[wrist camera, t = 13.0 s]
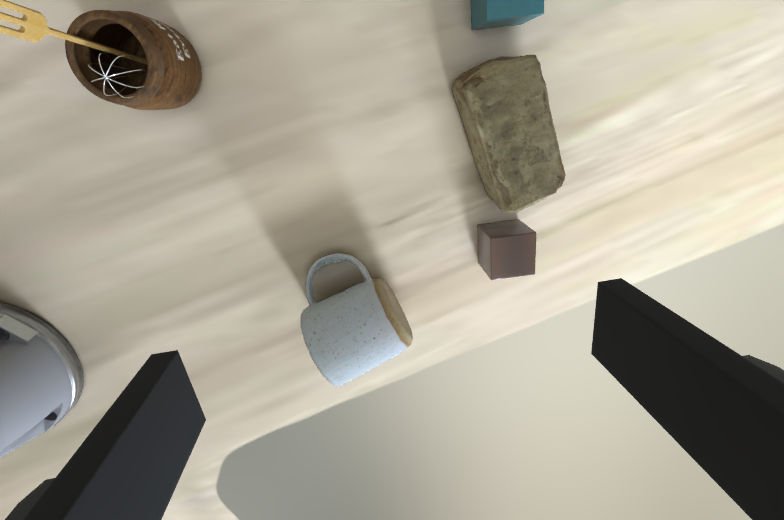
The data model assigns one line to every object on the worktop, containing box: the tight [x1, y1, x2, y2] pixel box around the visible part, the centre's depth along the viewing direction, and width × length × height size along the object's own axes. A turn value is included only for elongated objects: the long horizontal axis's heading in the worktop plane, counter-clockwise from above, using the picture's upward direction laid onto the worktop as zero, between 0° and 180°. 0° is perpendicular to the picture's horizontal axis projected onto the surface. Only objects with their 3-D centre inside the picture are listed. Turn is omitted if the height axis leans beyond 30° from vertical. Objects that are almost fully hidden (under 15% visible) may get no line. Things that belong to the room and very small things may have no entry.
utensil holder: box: [0, 0, 202, 110], centre depth 24 cm, size 6×6×12 cm
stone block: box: [452, 55, 565, 213], centre depth 31 cm, size 6×12×5 cm, turn 24°
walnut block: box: [477, 220, 536, 280], centre depth 35 cm, size 4×4×4 cm
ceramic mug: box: [301, 253, 413, 386], centre depth 35 cm, size 11×8×8 cm
